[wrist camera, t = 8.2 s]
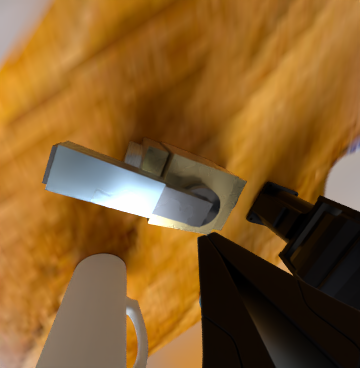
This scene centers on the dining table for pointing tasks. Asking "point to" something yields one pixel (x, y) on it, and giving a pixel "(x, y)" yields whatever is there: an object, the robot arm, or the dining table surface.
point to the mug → (95, 319)
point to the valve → (186, 178)
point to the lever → (126, 186)
